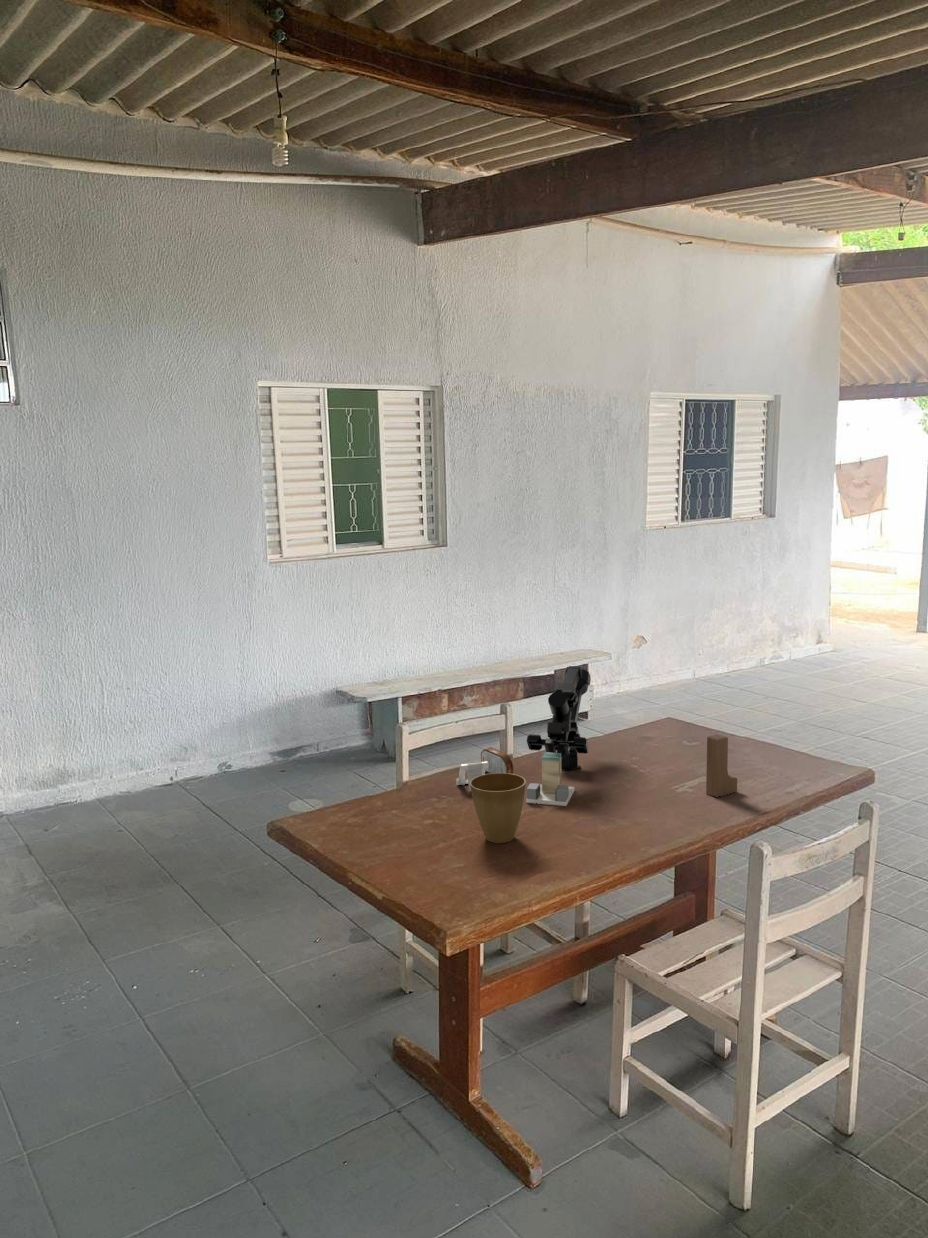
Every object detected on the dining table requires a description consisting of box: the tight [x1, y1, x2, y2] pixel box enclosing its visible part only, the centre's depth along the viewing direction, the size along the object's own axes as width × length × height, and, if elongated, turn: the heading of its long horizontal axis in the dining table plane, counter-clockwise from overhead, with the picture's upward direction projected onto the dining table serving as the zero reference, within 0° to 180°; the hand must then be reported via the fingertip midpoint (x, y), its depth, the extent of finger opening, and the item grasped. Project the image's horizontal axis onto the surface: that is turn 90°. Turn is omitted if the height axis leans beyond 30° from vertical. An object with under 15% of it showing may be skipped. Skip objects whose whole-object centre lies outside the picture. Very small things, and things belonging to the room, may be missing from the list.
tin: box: [480, 746, 514, 774], centre depth 300 cm, size 15×3×8 cm, turn 34°
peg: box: [541, 751, 563, 793], centre depth 280 cm, size 5×5×11 cm
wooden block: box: [705, 733, 738, 798], centre depth 277 cm, size 9×4×18 cm, turn 123°
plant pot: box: [470, 773, 527, 844], centre depth 247 cm, size 15×15×16 cm
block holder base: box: [525, 782, 575, 807], centre depth 279 cm, size 14×12×4 cm
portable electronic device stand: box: [455, 761, 489, 792], centre depth 289 cm, size 9×8×8 cm
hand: (553, 768), depth 283 cm, fingers closed
